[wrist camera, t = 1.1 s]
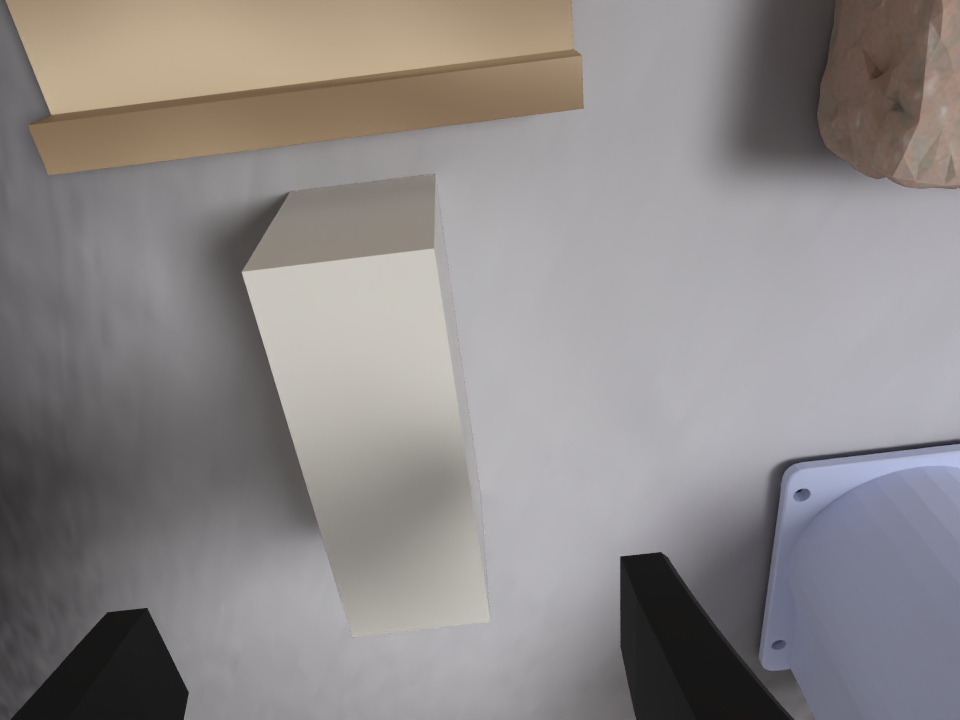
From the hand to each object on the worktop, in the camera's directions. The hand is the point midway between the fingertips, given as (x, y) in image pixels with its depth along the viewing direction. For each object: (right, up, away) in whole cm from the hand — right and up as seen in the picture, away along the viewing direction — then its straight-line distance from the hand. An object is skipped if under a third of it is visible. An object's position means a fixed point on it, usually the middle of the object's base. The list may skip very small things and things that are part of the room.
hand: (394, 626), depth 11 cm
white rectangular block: (-1, +4, +9) cm, 10 cm away
